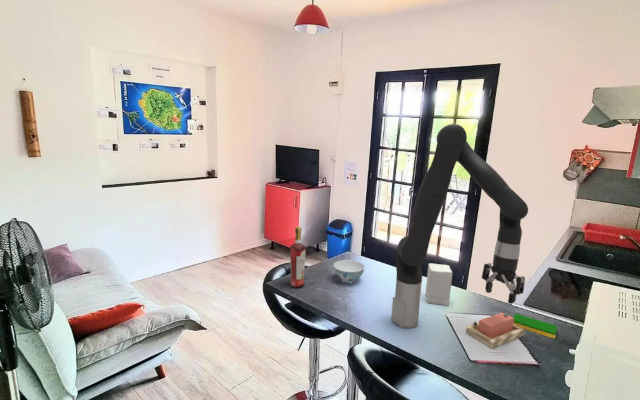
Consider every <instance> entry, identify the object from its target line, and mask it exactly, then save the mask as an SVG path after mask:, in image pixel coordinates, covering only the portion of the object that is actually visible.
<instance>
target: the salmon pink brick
mask: <svg viewBox="0 0 640 400" xmlns="http://www.w3.org/2000/svg"><path fill="white" fill-rule="evenodd" d="M478 321H479V327H478V331H479V332H481V333H482V334H484V335H486V336H488V337H489V338H491V339H492V338H494V337H497V336H500V335H502V334H505V333H508V332H510V331H512V329H513V322H514V316H513V317H512V316H510V315H508V314H507V313H506V312H505V313H504V312H499V313H497V314H492V315H490V316H487V317H485V318H482V319H479V320H478Z"/></svg>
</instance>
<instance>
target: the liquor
mask: <svg viewBox="0 0 640 400" xmlns="http://www.w3.org/2000/svg"><path fill="white" fill-rule="evenodd" d="M294 232H295V240H294V243H293V244H291V245H290V246H289V255H290V256H289V261H290V282H289V284H290V285H291V286H292V287H293V286H294V287H293V288H296V287H299V288H301V287H303V286H304V285H305V265H306V255H307V254H306V253H307V252H306V251H307V250H306V249H307V246H306V245H305V244H303V243H302V236H301V234H302V227H301V226H296V227H295V230H294ZM300 286H301V287H300Z"/></svg>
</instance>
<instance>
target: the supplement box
mask: <svg viewBox="0 0 640 400" xmlns="http://www.w3.org/2000/svg"><path fill="white" fill-rule="evenodd" d="M452 278H453V271H452V269H451V267H450V265H448V264H438V263H428V266H427V275H426V288H425V296H426V297H425V298H426V302H427V304H434V305H442V306H449V305H450V298H451V291H452V288H451V287H452V280H453V279H452Z"/></svg>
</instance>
